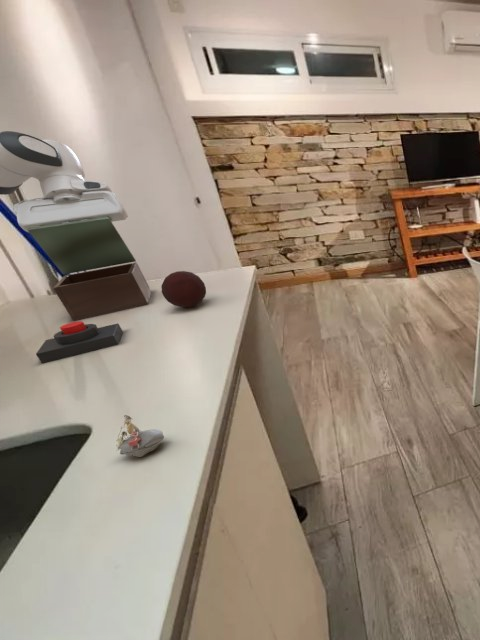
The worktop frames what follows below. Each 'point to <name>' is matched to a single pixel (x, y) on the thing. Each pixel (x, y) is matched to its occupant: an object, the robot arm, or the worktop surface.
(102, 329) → the button box
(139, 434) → the figurine
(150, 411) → the worktop surface
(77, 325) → the button
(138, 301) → the chest
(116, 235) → the chest lid
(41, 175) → the robot arm
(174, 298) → the dark brown oval ball
